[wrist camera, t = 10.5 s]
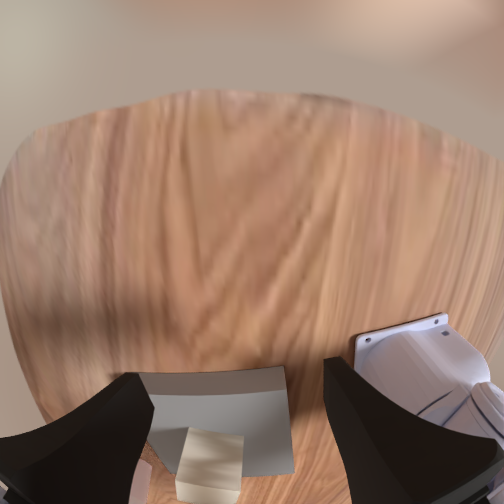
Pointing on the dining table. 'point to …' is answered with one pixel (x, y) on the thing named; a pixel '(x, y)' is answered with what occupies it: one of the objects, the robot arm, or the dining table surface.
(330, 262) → the dining table surface
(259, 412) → the plinth
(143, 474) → the smoothie
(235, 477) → the cream cube
